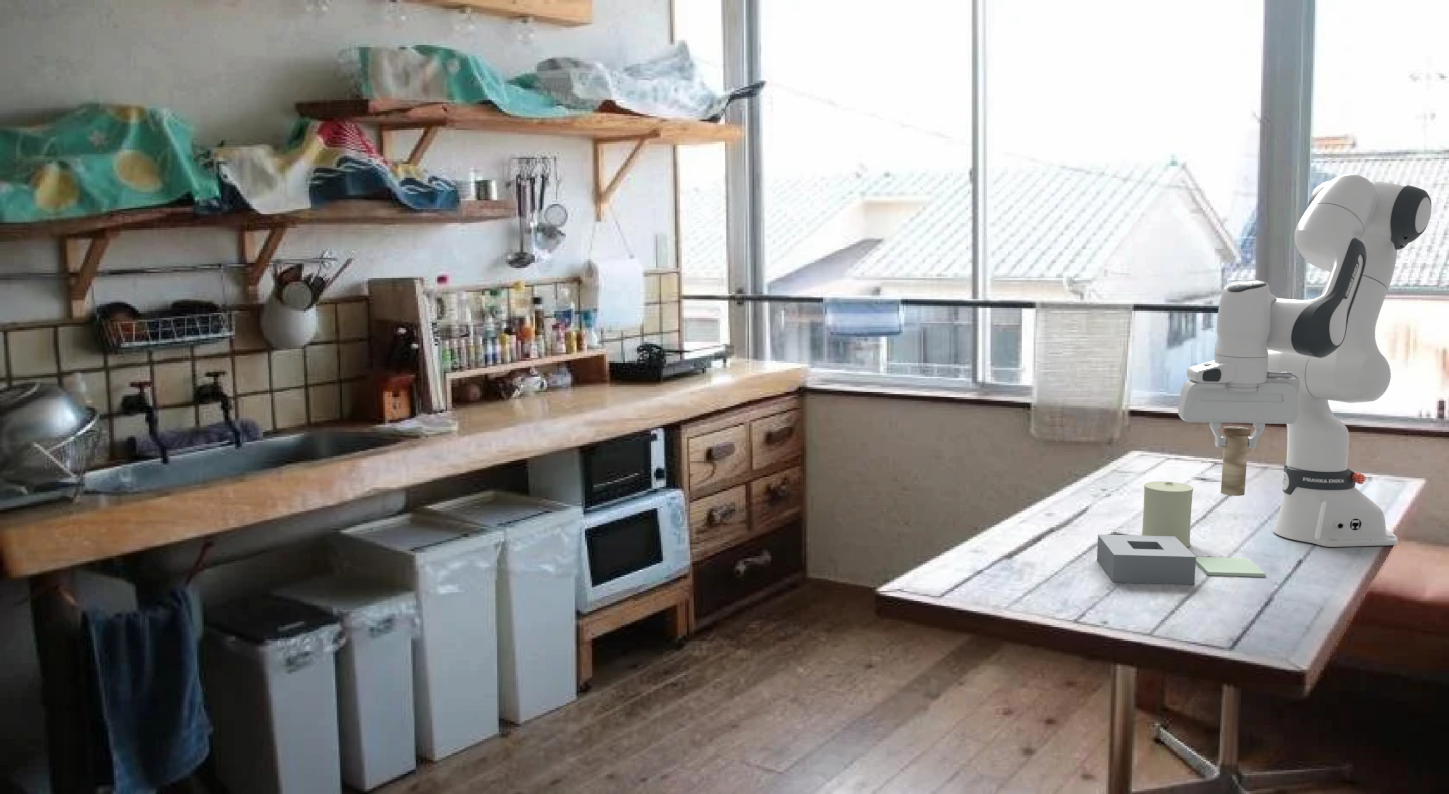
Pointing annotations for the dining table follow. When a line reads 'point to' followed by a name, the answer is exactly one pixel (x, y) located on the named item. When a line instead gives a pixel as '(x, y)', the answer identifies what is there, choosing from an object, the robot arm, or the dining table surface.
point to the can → (1167, 510)
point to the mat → (1229, 567)
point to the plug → (1234, 460)
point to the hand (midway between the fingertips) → (1235, 447)
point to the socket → (1146, 559)
